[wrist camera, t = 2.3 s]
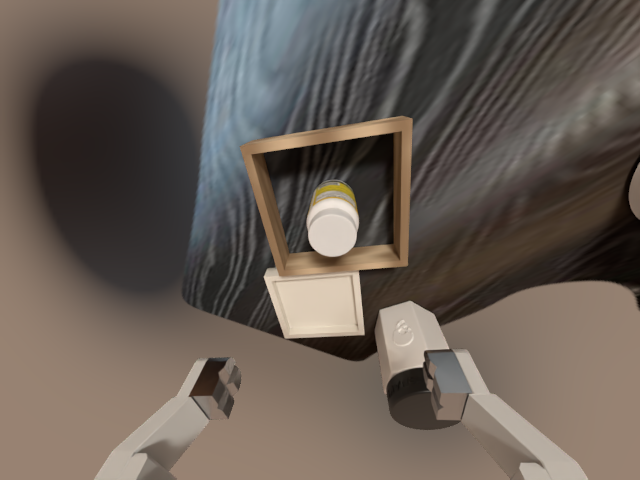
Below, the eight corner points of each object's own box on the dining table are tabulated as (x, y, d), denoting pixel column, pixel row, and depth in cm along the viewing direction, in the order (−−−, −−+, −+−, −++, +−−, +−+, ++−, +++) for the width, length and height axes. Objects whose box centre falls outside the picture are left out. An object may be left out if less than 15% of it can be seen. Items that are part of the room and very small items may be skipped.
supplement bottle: (338, 226, 28) (338, 270, 21) (304, 204, 27) (292, 243, 20) (364, 194, 26) (373, 231, 19) (328, 169, 25) (324, 198, 18)
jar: (425, 293, 33) (465, 383, 22) (440, 330, 36) (481, 423, 26) (364, 312, 35) (374, 401, 25) (383, 345, 39) (400, 435, 28)
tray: (357, 260, 31) (358, 269, 29) (363, 324, 37) (364, 334, 35) (267, 268, 32) (263, 277, 31) (287, 328, 38) (285, 338, 37)
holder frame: (402, 115, 22) (412, 118, 19) (400, 248, 29) (407, 266, 26) (252, 140, 24) (239, 146, 21) (284, 259, 31) (279, 276, 28)
